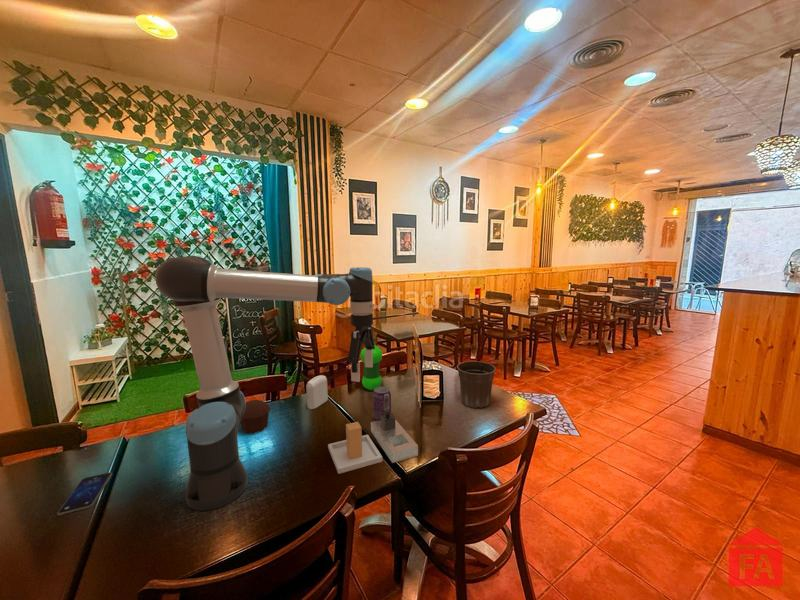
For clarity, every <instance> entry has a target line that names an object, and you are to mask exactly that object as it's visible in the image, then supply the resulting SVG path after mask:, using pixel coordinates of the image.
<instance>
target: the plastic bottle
mask: <svg viewBox="0 0 800 600" xmlns="http://www.w3.org/2000/svg"><path fill="white" fill-rule="evenodd" d="M373 339H374V343H376V337H375V336H373ZM374 346H375V349H372V354H373V367H372V368H370V367H365V349H366V348H365V347H364V348H363V349H361V352H360V360H361V361H362V362H363V376H362V379H361V384H362V386H363V387H364V388H365V389H366V390H368V391H374V389H375V388H377V387H381V386H382V383H383V382H382V376H381V374H380V373H381V372H380V371H381V370H380V369H381V368H380V366H381V365H380V362H381V361H382V359H383V351H382V350H381V348H380V347H379V346H378V345H376V344H374Z"/></svg>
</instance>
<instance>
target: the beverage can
mask: <svg viewBox="0 0 800 600" xmlns="http://www.w3.org/2000/svg"><path fill="white" fill-rule="evenodd" d="M386 409H390V413H392V394H391V390H390V387H388V386H382V385H381V386H380V387H377V388H375V389H374V390H373V393H372V416H373V420H375V421H379V420H381V416H380V415H382V414H386Z"/></svg>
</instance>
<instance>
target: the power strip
mask: <svg viewBox="0 0 800 600" xmlns="http://www.w3.org/2000/svg"><path fill="white" fill-rule="evenodd" d="M380 416H381V420H379V421H377V420H375V421H371V422H370V432H371V433H372V435H373V437H374V438H375V439H376V441H377V443H378V444H379V446H380V447H381V449H382V451H384V453H385V455H386V456H387V457H388V459H389V461H390V462H391V464H393V463H397V462H401V461H404V460H407V459H411V458H412V459H413V458H415V457H418V456H419V445H418V444H417V442H415V440H414V438H413V437H412V436H411V435H410V434H409V433H407V431H406V429H404V427H403V426H402V425H401V424H400V423H399V422H398V421H397V419H396V416H394V414H393V413H392V412H391V413H390V409H386V414H382V415H380Z"/></svg>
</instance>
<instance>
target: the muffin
mask: <svg viewBox="0 0 800 600" xmlns="http://www.w3.org/2000/svg"><path fill="white" fill-rule="evenodd" d="M270 411H271V406H270V404H268V403H267V402H266V401H264V400H261V399H251V400H249V401H246V408H245V412H244V415H243V417H242V420H241V423H240V426H241V431H243V432H244V433H245V434H256V433H259V432H262V431H264V430H265V429H266V428H268V423H269V414H270Z"/></svg>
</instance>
